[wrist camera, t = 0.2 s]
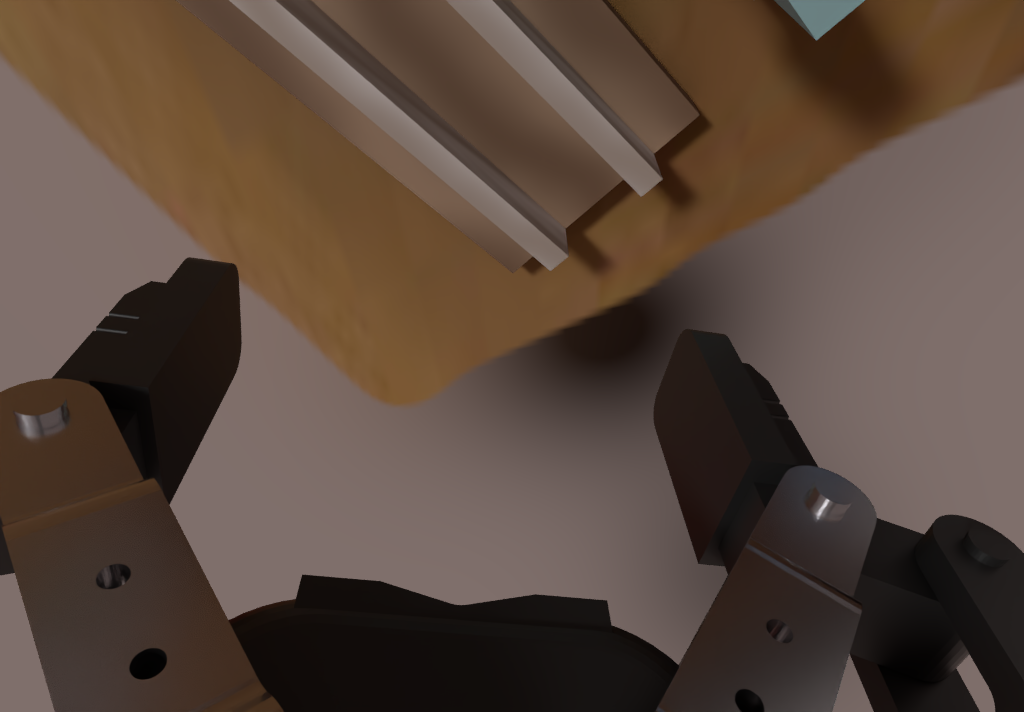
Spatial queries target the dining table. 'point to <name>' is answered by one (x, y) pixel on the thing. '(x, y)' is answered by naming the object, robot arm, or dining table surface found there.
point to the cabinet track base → (475, 102)
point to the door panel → (818, 13)
